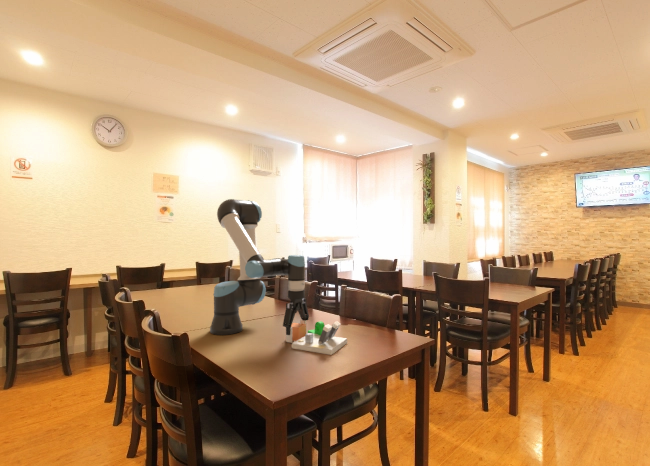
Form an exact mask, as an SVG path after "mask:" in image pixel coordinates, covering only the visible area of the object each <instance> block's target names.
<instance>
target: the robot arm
mask: <svg viewBox="0 0 650 466" xmlns="http://www.w3.org/2000/svg"><path fill="white" fill-rule="evenodd" d="M216 215H217V220H218V222H219V224H220V226H221V227H222V228H224V229H225V230H226V232H227V234H228V235H229V237H230V239H231V240H232V242H233V244H234V245H235V247H236V248H237V250H238V251H239V252H238V253H239V254H238V256H239V276H238V278H237V280H230V281H228V280H227V281H222V282H220V283H217V284H216V285H215V286H214V289H213V317H212V321H211V325H210V328H209V332H210V334H212V335H215V336H216V335H217V336H226V335H234V334H237V333H240V332H242V331H243V322H242V320H241V317H240V309H239V308H240V307H245V306H249V305H250V306H251V305H256V304H259V303H261V302H262V301H263V300H264V299H265V297H266V293H267V289H266V285H265V282H264V281H262V280H261V278H267V277H277V276H287V289H288V290H287V297H288V299H289V300H290V301H289V303H285V311H284V312H285V313H284V316H283V322H282V327H285V342H287V343H291V344H292V343H293V341H292V327H291V325H292V323H294V320H295V315H296V314H297V313H298V314H299V317H300V320H299V321H300V322H299V323H300V324H306V325H307V321H308V320H309V319H310V318H309V317H310V314H309V310H308V309H309V308H308V305H307V298H305V297H306V295H305V294H306V292H305V291H306V290H305V287H306V286H305V285H306V283H305V281H306V280H305V279H306V277H305V275H306V274H305V273H306V271H305V270H306V267H305V266H306V263H305V262H306V261H305V256H304V255H301V254H290V255H288V256H287V258H279V257H277V258H272V259H265V258H264V257H263V255H262V253H261V252H260V251H259V249H258V248H257V244H256V241H257V240H256V228H257V227H258V226H259V225H258V223H260V221H261V220H262V217H263V212H262V209H261V206H260V204H258V203H257V202H256V201H253V200H249V199H248V200H246V199H245V200H244V199H234V198H229V199H228V198H227V199H225V200H223V202H221V203H220V205H219V206H218V208H217V212H216Z"/></svg>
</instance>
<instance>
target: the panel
mask: <svg viewBox="0 0 650 466" xmlns="http://www.w3.org/2000/svg"><path fill="white" fill-rule="evenodd" d="M312 334H313V333H312ZM319 338H320V335H318V334H313V343H311V344H309V343H305V336H304V337H302V338H301V339H299V340H297V341H292V343H291V349H295V350H299V351H300V350H301V351H307V352H311V353H317V354H324V355H329V356H330V355H331V356H332V355H333V354H335V353H336V352H337V351H339V350H340V349H341V348H342V347H344V346H345V345H347V344H348V338H347V337H341V336H334V337H333V338H331V339H329V340H327V341H326V342H325V343H323V344H321V345H319V344H318V341H319Z"/></svg>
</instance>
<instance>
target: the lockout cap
mask: <svg viewBox="0 0 650 466" xmlns="http://www.w3.org/2000/svg"><path fill="white" fill-rule="evenodd" d="M291 327H292V342H295V341H297V340H299V339H301V338H302V337H304V336H305V334H307V323H306V324H300V322H299V323H298V322H292V325H291Z"/></svg>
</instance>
